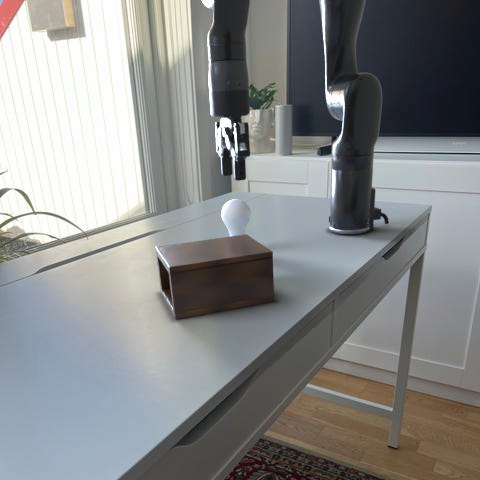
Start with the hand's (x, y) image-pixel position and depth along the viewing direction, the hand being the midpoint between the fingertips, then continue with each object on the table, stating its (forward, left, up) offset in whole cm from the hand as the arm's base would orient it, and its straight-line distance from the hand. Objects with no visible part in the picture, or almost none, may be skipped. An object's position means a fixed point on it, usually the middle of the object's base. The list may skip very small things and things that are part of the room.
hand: (233, 177), depth 97 cm
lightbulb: (0, 0, -16) cm, 16 cm away
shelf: (+12, +24, -15) cm, 31 cm away
